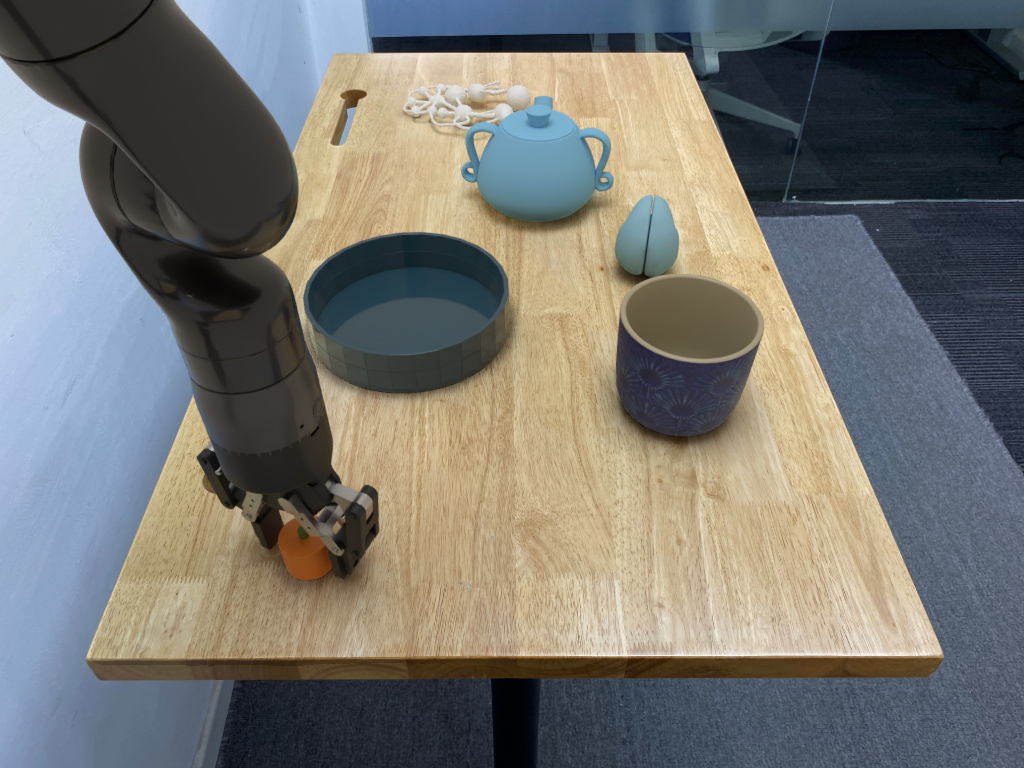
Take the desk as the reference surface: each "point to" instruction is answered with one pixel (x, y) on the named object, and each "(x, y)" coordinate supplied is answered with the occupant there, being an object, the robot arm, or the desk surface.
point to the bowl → (407, 311)
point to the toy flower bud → (648, 238)
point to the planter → (685, 352)
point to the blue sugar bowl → (537, 164)
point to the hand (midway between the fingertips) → (310, 553)
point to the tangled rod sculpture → (456, 98)
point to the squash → (303, 552)
